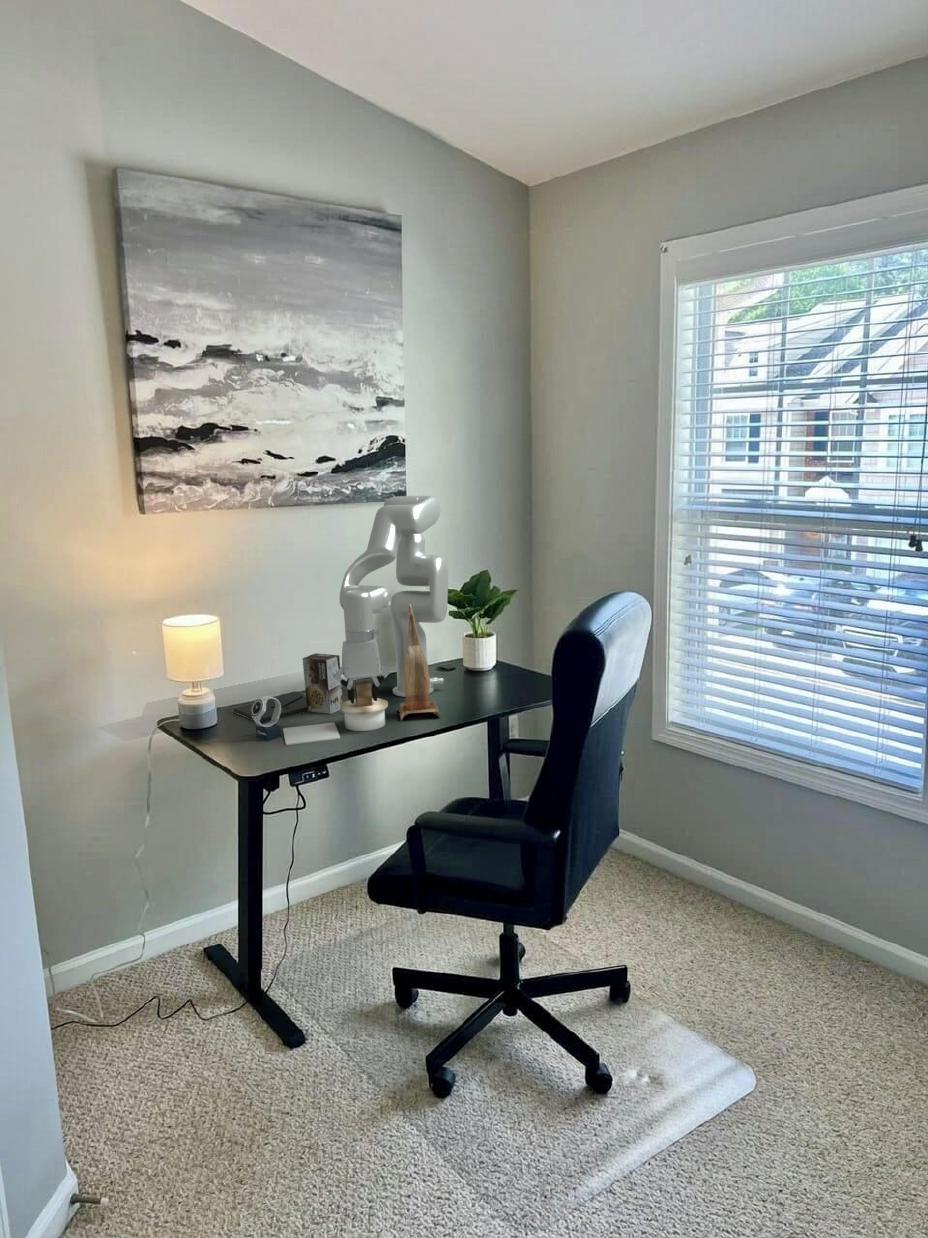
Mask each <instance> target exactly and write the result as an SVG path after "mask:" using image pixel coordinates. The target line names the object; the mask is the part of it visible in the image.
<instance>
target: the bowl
mask: <svg viewBox="0 0 928 1238" xmlns="http://www.w3.org/2000/svg"><path fill="white" fill-rule="evenodd" d="M385 710H386V709H384V710H382V711H379V712H375V713H369V714H348V713H344V712H343V714H344V715H343V716H344V727H345V729H346V730H350V731H354V732H367V731H374V730H378V729H380V728H383V727H385V725H386V714H385V713H386V712H385Z"/></svg>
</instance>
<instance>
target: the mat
mask: <svg viewBox="0 0 928 1238" xmlns="http://www.w3.org/2000/svg"><path fill="white" fill-rule="evenodd" d="M282 731H283V732H282V733H283V738H284V741H285V746H295V745H302V744H309V743H311V744H312V743H318V742H319V743H320V742H327V741H328V742H329V741H335V740H337V741H338V740H341V736H340V733H339V731H338V728H337V726H336V723H335V722H327V723H319V724H311V725H310V724H309V725H300V726H293V727H292V726H291V727H285V728H284V727H283V728H282Z"/></svg>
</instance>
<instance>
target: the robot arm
mask: <svg viewBox="0 0 928 1238" xmlns="http://www.w3.org/2000/svg"><path fill="white" fill-rule="evenodd" d="M440 515H441V505H440V502H439V501H438V499H437V498H436V497H435V496H431V495H413V496H412V495H399V496H398V495H397V496H392V497H388V498H387V499H385V501H384V502H383V506H381V507H379V508H378V509H377V511H376V513H375V515H374V519H373V520H374V521H373V524H372V528H371V531H370V534H369V535H370V536H369V540H368V543H367V547H366V550H365V551H364V552H363V553H362V554H360V556H358V557H357V558H356V559H355V560H354V561H353V562H352V563H351V564H350V566H349V567H348V569H347V570H346V572H345V574H344V576H343V580H342V583H341V586H340V591H339V604H340V606H341V609H343V616H344V617H343V619H344V635H345V636H344V637H345V640H344V641H343V642H342V646H341V665H340V669H339V670H338V671H337V673H336V674H335V675H334V678H335V679H336V680H337V681H338V682H340V683H341V685H343V687H344V688H346V689H347V701H349V700H350V701H351V703H352V704H354V699H355V689H354V688H353V684H354V680H357V679H367V678H371V680H372V682H373V683H372V684H371V692H372V698H373V699H374V701H377V698H379V697H380V690H379V686H380V685H381V684H382V682H383V681H384V680H385V679H386V678H387V677H388V675H390V673H391V671H390V669H388V668H387V667H386V666H385V665H384V664H383V663H381V657H380V651H379V646H378V642H377V638H375V637H377V636H379V635H380V633H379V632H380V631H379V630H375V629H374V624H373V623H374V619H373V615H374V614H382V613H385V612H386V611H387V610H390V616H391V619H392V620H391V621H392V624H393V632H394V645H395V647H394V648H395V664H396V679H397V680H396V681H397V682H396V683H397V685H396V686H395V687H393V688H392V694H393V695H395V696H397V697H404V698H405V697H406V696H405V679H404V661H405V656H406V652H407V647H408V605H409V604H411V606H412V610H413V615H414V619H415V624H416V628H417V633H418V638H419V642H420V645H421V648H422V650H423V653H424V655H425V657H426V660H427V661H428V651H427V637H426V636H427V635H426V632H425V630H424V629H423V626H422V625H421V624H420V623H427V624H432V623H433V624H435V623H436V624H437V623H442V622H443V621H444V620H445V619H446V615H447V611H448V599H449V598H448V597H449V567H448V563H447V561H446V559H445V558H444V557H443V556H442V555H436V554H426V552H425V549H426V548H425V546H426V545H425V544H426V541H425V536H424V535H423V533H424V532H425V531H426V530H429V528H431V527H433V526H434V525H435V524H436V523H437V521H438V520H439V518H440ZM394 561H396V563H395V575H396V580H397V583H399V585H401V586H404V587H426V588H427V587H429V590H401V591H398V592H395V593H393V594H392V593H391V591H390V590H389V589H388V588H387V587H385V586H383V585H367V584H365V585H362V584H361V585H360V582H362V580H363V579H365V577H367V576H368V575H369V574H371V573H372V572H375V571H377V570H379V569H382V568H384V567H386V566H388V565H390V564H392V563H393V562H394ZM342 675H344V678H345V679H344V678H343V677H342ZM443 684H444V678H443V677H436V676H435V677H430V676H429V687H430V694H433V692H434V690H435V689H434V685H443Z"/></svg>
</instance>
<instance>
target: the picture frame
mask: <svg viewBox="0 0 928 1238" xmlns="http://www.w3.org/2000/svg"><path fill="white" fill-rule="evenodd" d="M275 698H276V699H277V700H278V701H279V702H280V704H281V714H280V717H279V719H278V720H280V719H283V718H288V717H292V716H296V715H300V714H304V713H307V711H308V707H307V703H306V696H304V694H303V693H300V692H298V691H295V690H294V691H291V692H286V693H281V694H280V695H279V696H278V697H275ZM252 705H253V703H250V704H245V705H242V706H237V707H234V708H233V713H234V712H236V713H239V714H241V715H244V716H246V717H248V718H250V719H249V720H251V719H252V720H251V721H253V718H252V715H251V707H252ZM275 705H276V704H275V701H274V700H273V699H272V698H271V699H267V703H266V711H265V712H264V714H263V715H262V716H261V719H260V720H259V721H260V723H261V724H263V723H267V722H271V720H272V719H271V718H272V716H273V713H274V709H275ZM303 712H304V713H303ZM308 712H309V711H308ZM236 713H235V714H236ZM299 713H300V714H299ZM241 715H240V716H241ZM246 717H245V718H246ZM248 718H247V719H248Z"/></svg>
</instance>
